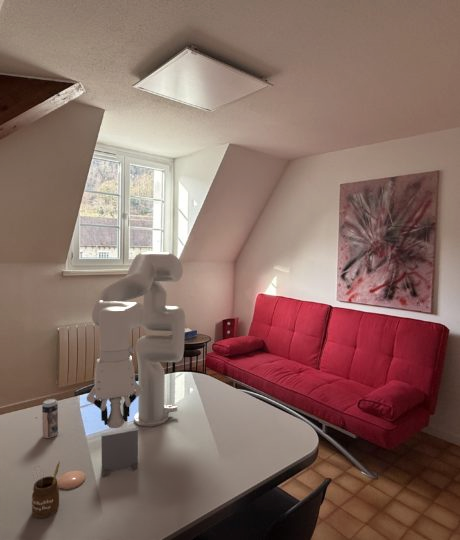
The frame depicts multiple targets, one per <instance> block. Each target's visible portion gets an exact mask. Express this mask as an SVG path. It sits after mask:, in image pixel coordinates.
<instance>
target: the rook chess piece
mask: <svg viewBox="0 0 460 540" xmlns="http://www.w3.org/2000/svg"><path fill="white" fill-rule="evenodd" d="M122 399H123V397H118V398H111V399H108V401H109V402H110V404H109V406H110V411H109V413H110V414H109V415H108V424H107V425H106V426H107V427H109V429H117V428H120V427H121V428H122V426H123V425H124V424H125V421H124V417H123V413H122V410H121V405H122V403H121V401H122Z"/></svg>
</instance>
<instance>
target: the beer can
mask: <svg viewBox="0 0 460 540" xmlns="http://www.w3.org/2000/svg"><path fill="white" fill-rule="evenodd" d="M58 405H59V404H58V401H57V399H56V398H47V399H45V400H44V401H43V402H42V405H41V409H42V413H41V415H42V437H43V438H45V439H52V438H54V436H55V437H56V436H57V435H58V434H59V414H58V413H59V412H58V411H59V408H58ZM51 437H52V438H51Z"/></svg>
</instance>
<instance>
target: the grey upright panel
mask: <svg viewBox="0 0 460 540" xmlns="http://www.w3.org/2000/svg"><path fill="white" fill-rule="evenodd" d="M100 437H101V474H102V477H103V478H105V477H109V476H110V473H111V472H116V471H121V470H126V469H132V471H133V472H134V471H137V470H139V466H138V465H139V429H138V427H133V428H126V429H122V430H115V431H108V432H104V433H101V436H100Z"/></svg>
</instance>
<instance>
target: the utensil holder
mask: <svg viewBox="0 0 460 540" xmlns="http://www.w3.org/2000/svg"><path fill="white" fill-rule="evenodd" d="M60 462H61V461H58V463H57V464H56V466H55V470H54V474H53V476H52V475H51V476H50V475H49V476H44V475H45V474H44V470H42V472H41V470H39V475H41V473H42V475H43V477H42V476H39V477H40V478H39V477H38V475H37V473H38V472H37V466H35V467H33V470H35V473H32V477H33V481H34V484H33V488H32V489H33V490H32V491H33V492H32V495H31V511H32V515H33V516H34V517H36V518H38V519H43V518H47V517H50V516H51V515H54V513H56V512H57V510H58V509H59V506H60V489H59V487H58V485H57V480H58V478H56V477H57V475H58V472H59V467H60V464H61V463H60ZM38 469H41V466H38ZM36 475H37V476H36ZM35 476H36V477H35ZM35 478H36V479H35Z"/></svg>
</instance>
